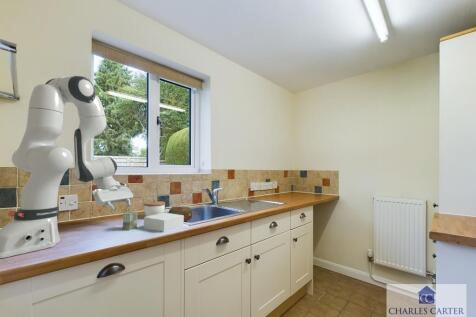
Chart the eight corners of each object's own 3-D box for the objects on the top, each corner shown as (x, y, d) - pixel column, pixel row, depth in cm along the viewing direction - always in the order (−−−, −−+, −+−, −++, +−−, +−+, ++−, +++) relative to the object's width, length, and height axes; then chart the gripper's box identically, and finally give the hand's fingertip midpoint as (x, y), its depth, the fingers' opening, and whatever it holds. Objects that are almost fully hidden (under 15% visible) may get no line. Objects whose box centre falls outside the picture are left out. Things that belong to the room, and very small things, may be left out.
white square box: (163, 232, 109) (164, 220, 109) (143, 228, 115) (144, 217, 116) (183, 226, 121) (183, 215, 122) (164, 223, 128) (164, 212, 128)
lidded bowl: (144, 215, 145) (144, 198, 146) (164, 214, 149) (165, 198, 149) (142, 220, 133) (142, 201, 134) (164, 219, 137) (165, 200, 137)
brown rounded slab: (168, 220, 134) (168, 206, 134) (170, 219, 137) (171, 205, 137) (191, 222, 130) (191, 207, 131) (193, 221, 133) (194, 206, 134)
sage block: (129, 230, 111) (130, 214, 111) (122, 229, 113) (123, 213, 113) (136, 228, 115) (137, 212, 115) (130, 227, 117) (130, 211, 117)
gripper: (93, 185, 110) (107, 207, 106) (127, 183, 129) (140, 201, 125) (86, 194, 112) (100, 216, 108) (121, 190, 131) (134, 208, 127)
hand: (122, 208), depth 117 cm, fingers open, 8 cm apart
